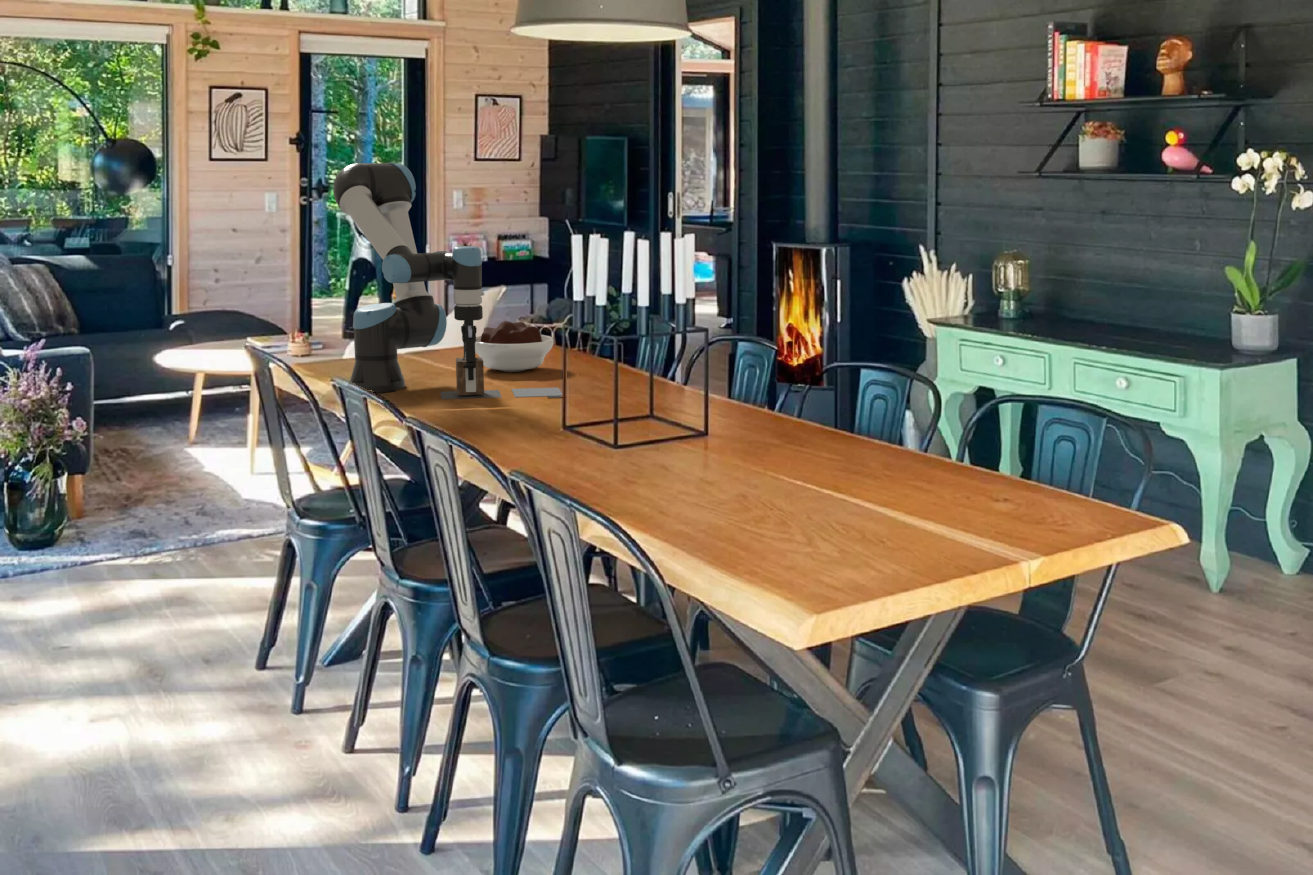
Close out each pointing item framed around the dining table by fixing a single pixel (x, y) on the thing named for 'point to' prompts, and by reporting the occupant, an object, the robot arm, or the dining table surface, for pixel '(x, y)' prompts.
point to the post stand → (455, 396)
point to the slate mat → (537, 392)
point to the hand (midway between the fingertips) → (470, 389)
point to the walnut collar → (462, 378)
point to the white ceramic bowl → (512, 347)
